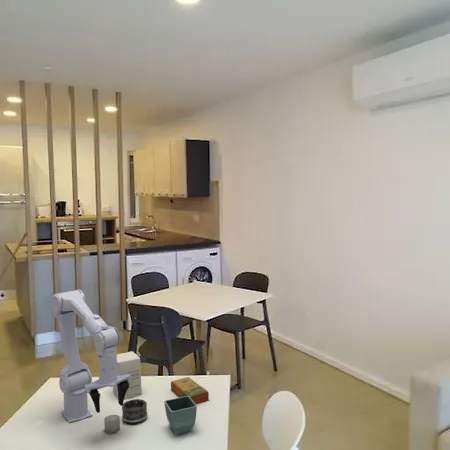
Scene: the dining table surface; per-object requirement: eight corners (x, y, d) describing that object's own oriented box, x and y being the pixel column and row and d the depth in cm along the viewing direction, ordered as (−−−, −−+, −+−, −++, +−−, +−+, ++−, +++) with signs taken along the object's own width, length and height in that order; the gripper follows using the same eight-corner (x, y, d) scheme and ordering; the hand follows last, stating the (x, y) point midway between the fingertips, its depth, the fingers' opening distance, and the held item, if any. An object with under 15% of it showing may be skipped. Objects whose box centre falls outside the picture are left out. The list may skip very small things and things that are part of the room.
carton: (189, 386, 182) (189, 376, 182) (209, 401, 168) (209, 390, 168) (170, 391, 177) (170, 381, 177) (189, 407, 164) (189, 396, 164)
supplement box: (112, 392, 177) (110, 355, 176) (134, 386, 182) (132, 350, 181) (119, 401, 169) (117, 362, 168) (142, 395, 174) (140, 357, 173)
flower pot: (164, 426, 151) (163, 400, 150) (189, 420, 154) (188, 395, 153) (172, 439, 143) (171, 412, 142) (198, 432, 146) (197, 406, 145)
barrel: (118, 417, 157) (117, 403, 157) (140, 410, 162) (140, 396, 162) (128, 427, 150) (128, 413, 150) (151, 419, 155) (151, 405, 155)
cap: (102, 429, 150) (101, 417, 149) (116, 424, 153) (116, 413, 152) (108, 435, 146) (107, 423, 145) (122, 430, 149) (122, 418, 148)
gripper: (89, 376, 136) (91, 420, 137) (134, 365, 144) (135, 406, 145) (81, 369, 142) (83, 410, 143) (125, 358, 150) (126, 397, 151)
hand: (109, 407), depth 144 cm, fingers open, 7 cm apart
